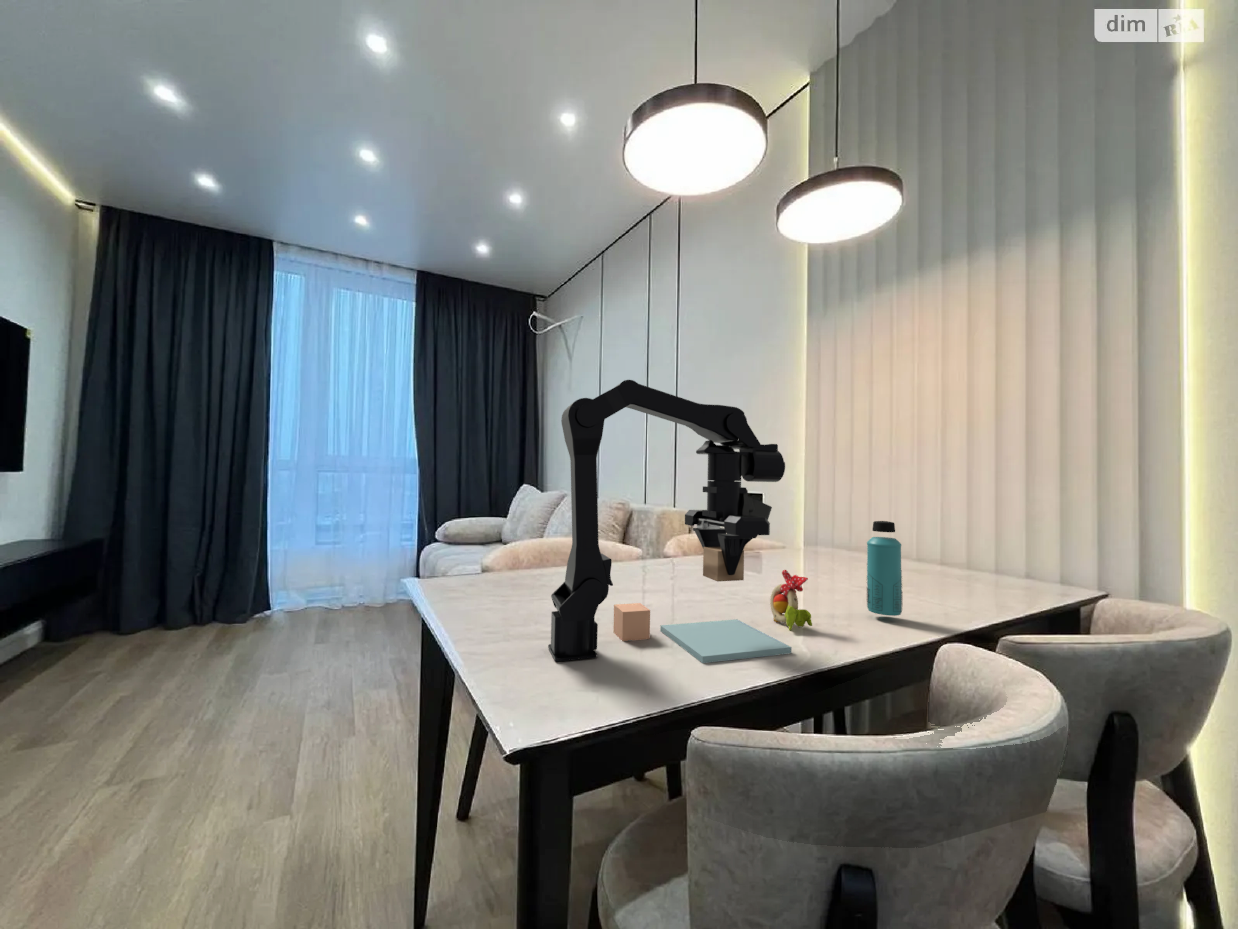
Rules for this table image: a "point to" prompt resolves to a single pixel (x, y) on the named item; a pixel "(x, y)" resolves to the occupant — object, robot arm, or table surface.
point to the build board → (723, 640)
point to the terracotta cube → (631, 621)
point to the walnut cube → (720, 565)
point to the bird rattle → (789, 602)
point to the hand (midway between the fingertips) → (722, 572)
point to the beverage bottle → (884, 572)
